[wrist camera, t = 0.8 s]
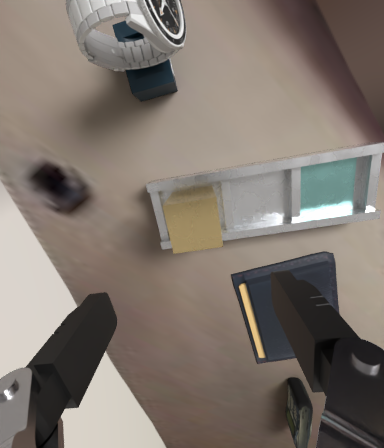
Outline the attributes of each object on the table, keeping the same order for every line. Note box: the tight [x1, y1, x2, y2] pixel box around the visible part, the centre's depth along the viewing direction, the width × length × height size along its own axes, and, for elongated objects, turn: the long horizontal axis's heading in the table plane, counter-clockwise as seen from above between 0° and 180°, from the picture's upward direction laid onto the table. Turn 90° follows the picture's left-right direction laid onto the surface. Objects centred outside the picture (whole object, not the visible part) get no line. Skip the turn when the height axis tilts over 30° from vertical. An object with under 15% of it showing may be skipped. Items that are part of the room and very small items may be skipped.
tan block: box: [163, 186, 223, 254], centre depth 22 cm, size 5×5×7 cm
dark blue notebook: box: [231, 252, 340, 364], centre depth 32 cm, size 20×2×15 cm
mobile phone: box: [286, 378, 313, 448], centre depth 37 cm, size 5×3×15 cm
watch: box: [66, 0, 186, 102], centre depth 16 cm, size 6×8×11 cm
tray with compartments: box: [146, 142, 384, 250], centre depth 24 cm, size 8×26×3 cm, turn 100°
